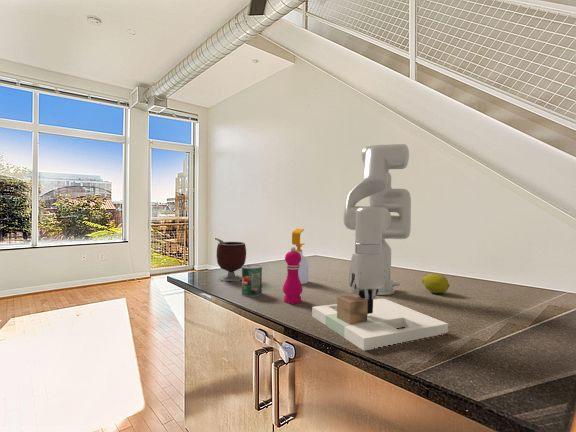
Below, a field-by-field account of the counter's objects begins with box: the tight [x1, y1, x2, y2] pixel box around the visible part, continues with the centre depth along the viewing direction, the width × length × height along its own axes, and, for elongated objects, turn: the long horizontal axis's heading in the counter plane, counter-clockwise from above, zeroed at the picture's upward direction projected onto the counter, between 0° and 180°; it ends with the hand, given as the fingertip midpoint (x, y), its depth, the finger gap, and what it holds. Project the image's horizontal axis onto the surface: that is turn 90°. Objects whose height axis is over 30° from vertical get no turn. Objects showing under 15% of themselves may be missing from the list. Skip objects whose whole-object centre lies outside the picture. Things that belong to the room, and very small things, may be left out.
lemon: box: [421, 273, 451, 295], centre depth 135 cm, size 11×8×8 cm
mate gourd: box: [214, 237, 247, 282], centre depth 156 cm, size 16×14×20 cm
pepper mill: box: [282, 246, 303, 305], centre depth 121 cm, size 7×7×20 cm
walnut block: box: [336, 294, 368, 324], centre depth 93 cm, size 6×6×6 cm
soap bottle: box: [291, 228, 310, 285], centre depth 151 cm, size 9×9×25 cm
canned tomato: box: [241, 264, 263, 297], centre depth 130 cm, size 8×8×11 cm
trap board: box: [311, 297, 449, 351], centre depth 97 cm, size 28×27×3 cm
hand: (367, 312), depth 96 cm, fingers closed
